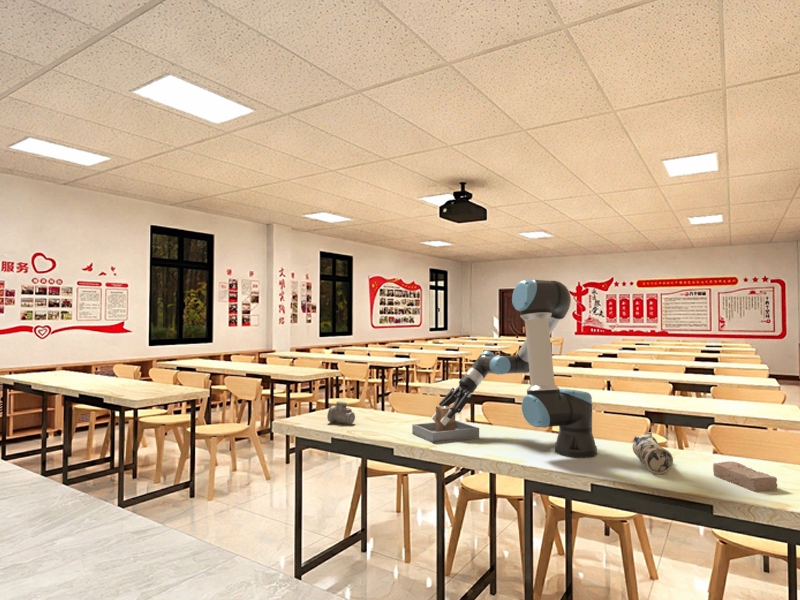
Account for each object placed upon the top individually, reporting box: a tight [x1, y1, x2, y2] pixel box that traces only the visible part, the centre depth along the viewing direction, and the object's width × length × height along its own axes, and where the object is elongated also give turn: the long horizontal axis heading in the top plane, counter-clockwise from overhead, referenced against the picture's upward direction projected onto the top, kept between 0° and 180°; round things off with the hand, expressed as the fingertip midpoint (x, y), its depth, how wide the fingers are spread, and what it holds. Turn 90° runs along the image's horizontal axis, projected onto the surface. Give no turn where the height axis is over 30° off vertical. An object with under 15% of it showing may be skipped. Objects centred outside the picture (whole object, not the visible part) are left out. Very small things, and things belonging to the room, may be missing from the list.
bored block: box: [435, 405, 456, 432], centre depth 224 cm, size 6×6×11 cm
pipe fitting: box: [326, 400, 356, 426], centre depth 248 cm, size 12×8×10 cm
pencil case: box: [632, 431, 674, 475], centre depth 180 cm, size 22×8×10 cm, turn 168°
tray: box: [411, 419, 480, 444], centre depth 224 cm, size 18×22×4 cm
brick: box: [712, 461, 778, 493], centre depth 163 cm, size 16×8×5 cm, turn 11°
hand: (438, 421), depth 222 cm, fingers open, 7 cm apart
